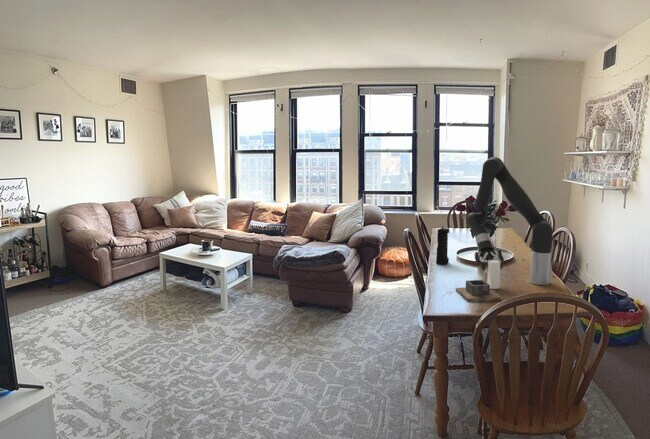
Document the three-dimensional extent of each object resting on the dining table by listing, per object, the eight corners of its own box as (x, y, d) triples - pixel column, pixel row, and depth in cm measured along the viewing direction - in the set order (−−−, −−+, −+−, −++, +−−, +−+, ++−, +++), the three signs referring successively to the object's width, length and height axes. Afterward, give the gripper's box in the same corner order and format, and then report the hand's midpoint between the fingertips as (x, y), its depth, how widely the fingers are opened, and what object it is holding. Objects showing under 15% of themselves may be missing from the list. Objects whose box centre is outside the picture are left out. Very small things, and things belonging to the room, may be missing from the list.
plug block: (495, 285, 215) (496, 260, 213) (499, 288, 210) (500, 262, 208) (487, 286, 215) (488, 260, 213) (490, 288, 210) (491, 262, 208)
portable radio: (440, 261, 266) (441, 223, 262) (449, 262, 262) (450, 224, 258) (435, 263, 260) (435, 225, 256) (444, 265, 256) (445, 226, 252)
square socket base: (486, 289, 210) (486, 277, 208) (500, 300, 194) (501, 287, 193) (455, 290, 209) (455, 278, 208) (467, 301, 193) (467, 288, 192)
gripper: (473, 240, 219) (481, 266, 209) (499, 239, 219) (508, 265, 209) (469, 247, 225) (477, 273, 215) (494, 246, 225) (503, 272, 216)
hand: (492, 269), depth 212 cm, fingers open, 8 cm apart
